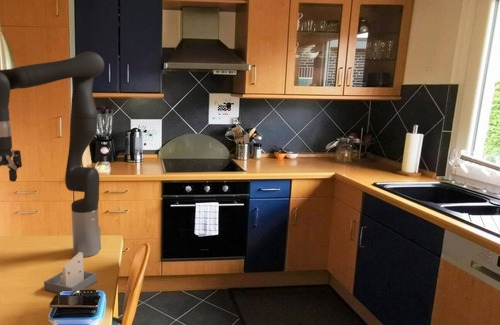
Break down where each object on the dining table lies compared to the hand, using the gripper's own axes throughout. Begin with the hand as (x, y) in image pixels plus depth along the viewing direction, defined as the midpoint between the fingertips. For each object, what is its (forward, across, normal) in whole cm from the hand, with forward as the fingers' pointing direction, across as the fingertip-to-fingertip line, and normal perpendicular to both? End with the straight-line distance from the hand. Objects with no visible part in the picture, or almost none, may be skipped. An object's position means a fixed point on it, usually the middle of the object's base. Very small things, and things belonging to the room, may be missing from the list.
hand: (1, 183), depth 131 cm
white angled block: (+30, 0, +28) cm, 41 cm away
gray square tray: (+30, +1, +28) cm, 41 cm away
